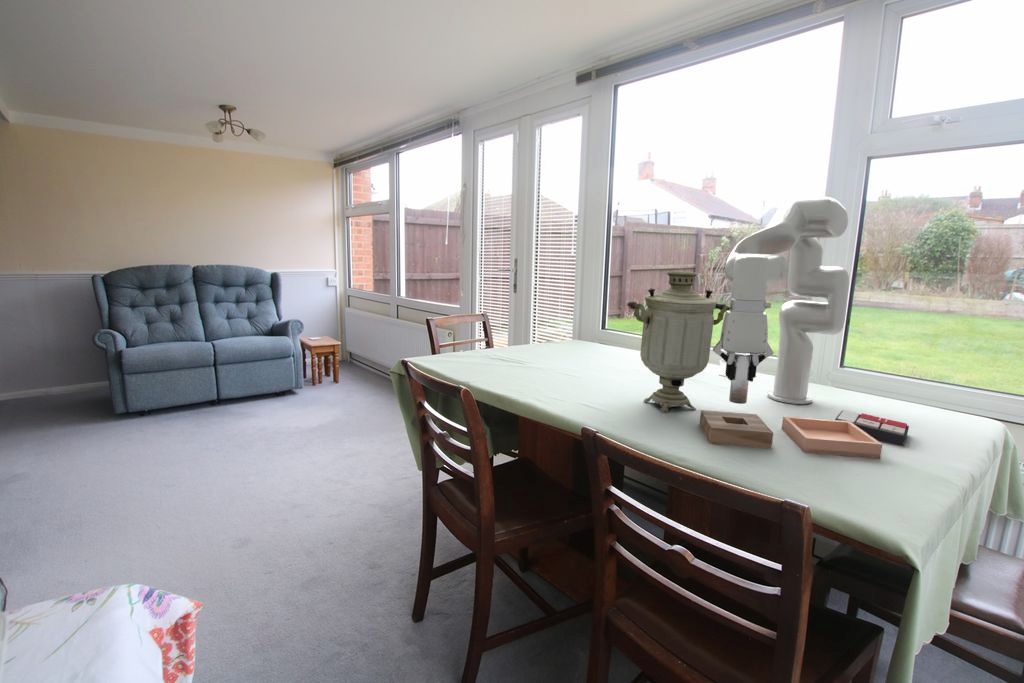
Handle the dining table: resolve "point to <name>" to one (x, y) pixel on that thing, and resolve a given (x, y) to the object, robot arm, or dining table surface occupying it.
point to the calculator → (877, 427)
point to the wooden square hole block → (735, 429)
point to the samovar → (676, 336)
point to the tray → (831, 437)
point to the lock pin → (740, 378)
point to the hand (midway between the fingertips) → (739, 378)
